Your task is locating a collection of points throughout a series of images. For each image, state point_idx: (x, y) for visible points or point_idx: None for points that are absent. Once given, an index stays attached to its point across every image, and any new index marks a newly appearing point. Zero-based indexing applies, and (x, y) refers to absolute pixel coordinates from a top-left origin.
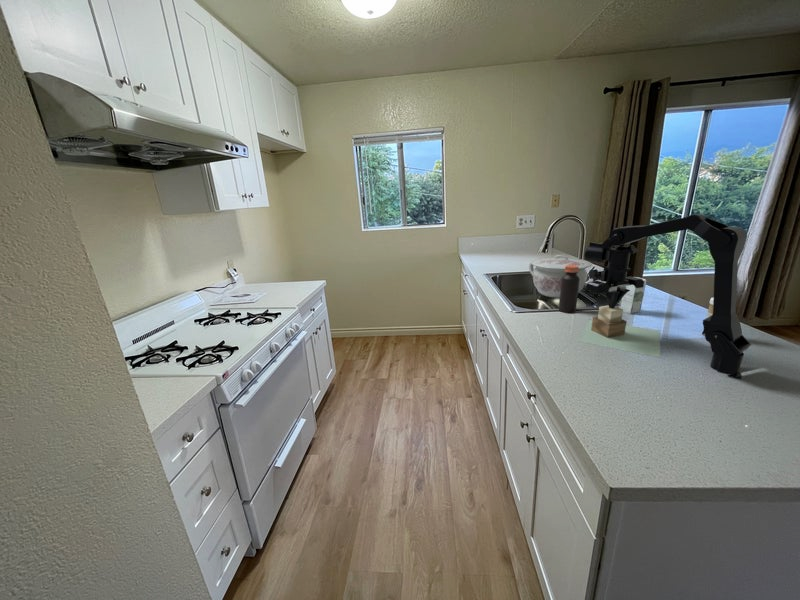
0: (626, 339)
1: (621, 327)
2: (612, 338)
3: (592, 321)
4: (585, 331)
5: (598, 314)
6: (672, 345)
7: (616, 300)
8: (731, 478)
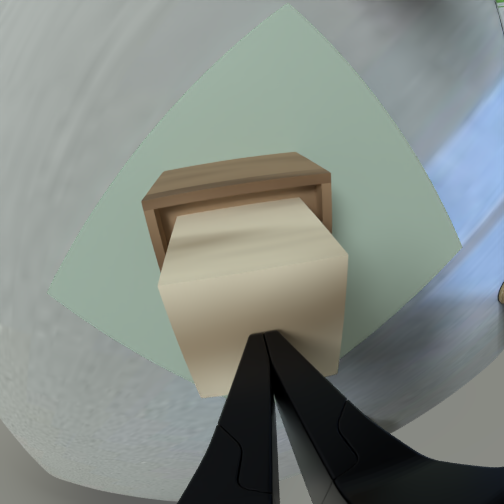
0: None
1: None
2: None
3: (150, 190)
4: (120, 183)
5: (170, 239)
6: (387, 339)
7: (295, 451)
8: (138, 496)
